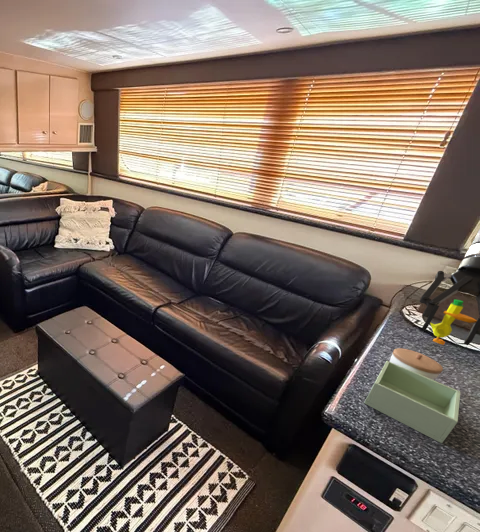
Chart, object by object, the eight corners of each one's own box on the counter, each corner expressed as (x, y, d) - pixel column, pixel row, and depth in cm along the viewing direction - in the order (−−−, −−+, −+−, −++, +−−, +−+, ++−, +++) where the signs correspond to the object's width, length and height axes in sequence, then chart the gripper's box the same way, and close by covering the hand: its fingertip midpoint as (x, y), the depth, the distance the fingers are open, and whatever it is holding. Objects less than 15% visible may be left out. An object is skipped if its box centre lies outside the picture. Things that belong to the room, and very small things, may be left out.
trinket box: (425, 397, 91) (442, 370, 88) (378, 374, 99) (392, 349, 96) (433, 384, 97) (449, 359, 93) (388, 364, 105) (401, 340, 101)
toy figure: (458, 347, 81) (485, 306, 77) (457, 351, 79) (485, 309, 75) (422, 334, 86) (445, 294, 82) (420, 337, 84) (444, 297, 79)
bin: (446, 411, 86) (460, 391, 84) (441, 443, 75) (457, 421, 73) (376, 379, 97) (386, 360, 94) (363, 403, 86) (375, 382, 83)
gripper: (537, 286, 78) (500, 361, 75) (427, 260, 92) (391, 322, 89) (554, 270, 73) (515, 350, 69) (434, 244, 87) (396, 310, 83)
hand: (445, 334), depth 79 cm, fingers closed on toy figure, 7 cm apart
